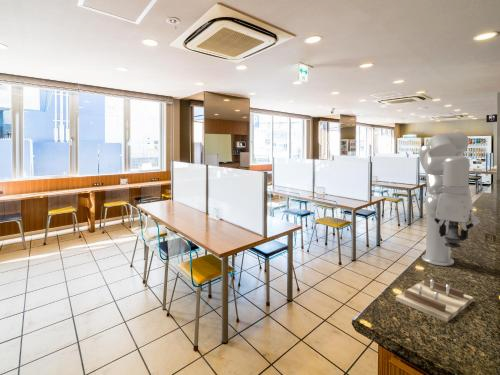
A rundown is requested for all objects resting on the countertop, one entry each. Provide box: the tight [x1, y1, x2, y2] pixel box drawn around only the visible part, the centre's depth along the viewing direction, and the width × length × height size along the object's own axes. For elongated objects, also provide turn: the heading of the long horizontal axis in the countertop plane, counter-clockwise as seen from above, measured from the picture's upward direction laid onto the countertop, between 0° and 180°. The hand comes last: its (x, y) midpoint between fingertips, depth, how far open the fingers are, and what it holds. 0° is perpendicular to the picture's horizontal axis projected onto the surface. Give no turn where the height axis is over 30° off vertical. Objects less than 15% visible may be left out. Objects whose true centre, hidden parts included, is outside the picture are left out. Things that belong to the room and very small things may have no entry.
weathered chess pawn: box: [443, 221, 462, 249], centre depth 102 cm, size 6×6×12 cm
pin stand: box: [395, 278, 474, 323], centre depth 95 cm, size 20×16×6 cm
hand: (452, 237), depth 102 cm, fingers closed on weathered chess pawn, 5 cm apart
